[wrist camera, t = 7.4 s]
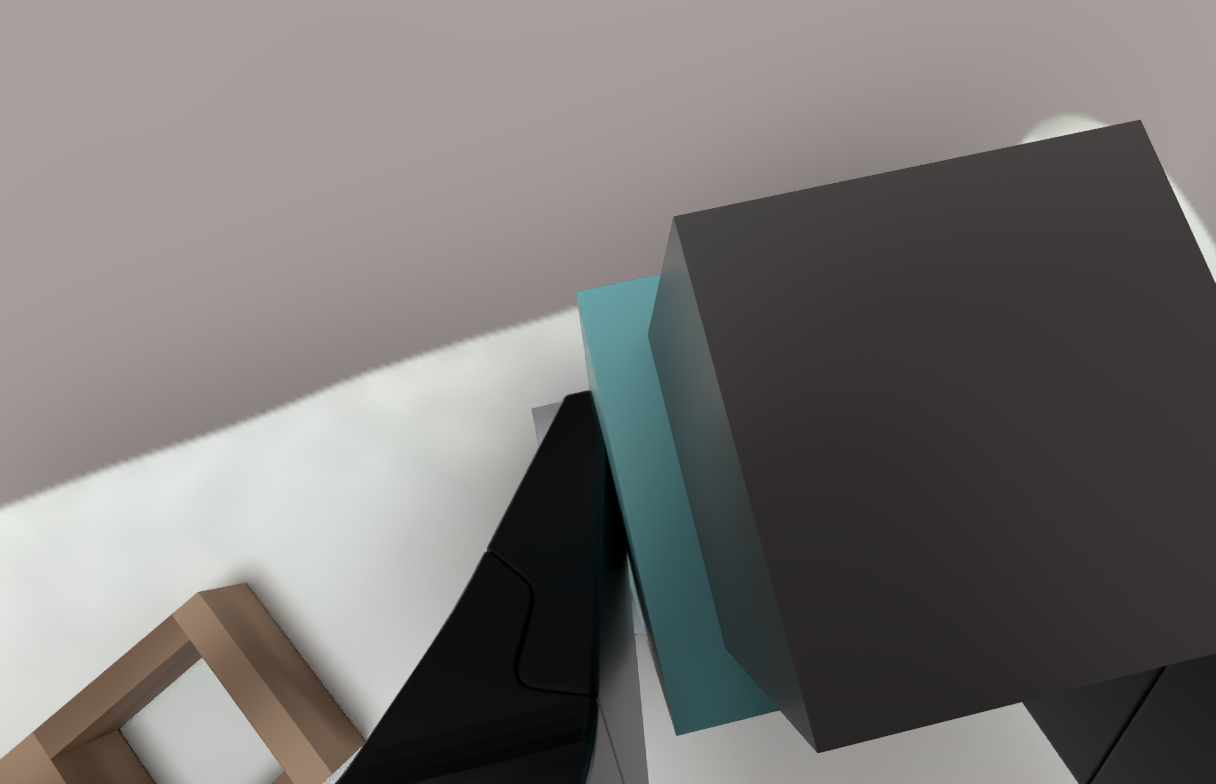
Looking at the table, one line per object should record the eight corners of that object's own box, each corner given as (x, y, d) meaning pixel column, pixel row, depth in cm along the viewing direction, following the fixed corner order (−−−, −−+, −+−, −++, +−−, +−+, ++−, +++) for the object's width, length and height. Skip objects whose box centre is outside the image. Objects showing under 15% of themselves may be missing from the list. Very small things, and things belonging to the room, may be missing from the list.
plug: (760, 547, 15) (1535, 709, 3) (627, 578, 15) (731, 920, 2) (725, 415, 16) (1189, 21, 3) (597, 444, 16) (557, 148, 3)
